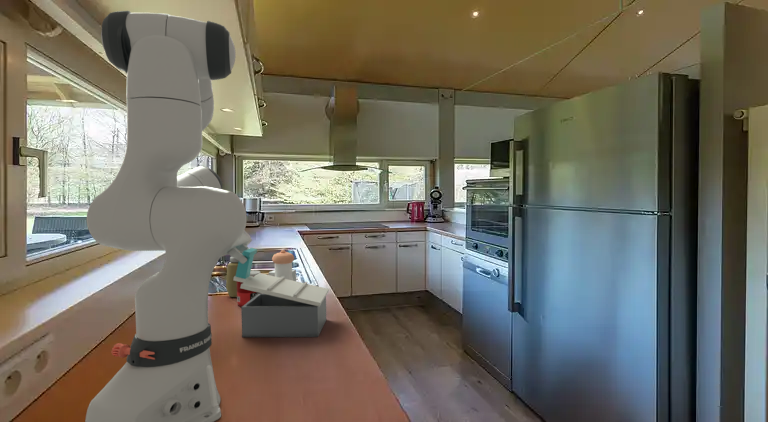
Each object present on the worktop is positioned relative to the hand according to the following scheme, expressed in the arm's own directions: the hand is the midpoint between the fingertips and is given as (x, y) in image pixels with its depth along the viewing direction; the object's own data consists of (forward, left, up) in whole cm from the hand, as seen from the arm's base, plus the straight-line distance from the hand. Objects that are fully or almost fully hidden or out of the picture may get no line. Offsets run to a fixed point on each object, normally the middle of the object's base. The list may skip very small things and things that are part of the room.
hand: (249, 260), depth 110 cm
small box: (+27, +8, -19) cm, 35 cm away
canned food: (+19, +16, -19) cm, 32 cm away
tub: (+3, -10, -19) cm, 22 cm away
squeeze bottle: (+27, +28, -19) cm, 44 cm away
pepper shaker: (+19, +2, -19) cm, 28 cm away
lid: (+3, -8, -8) cm, 12 cm away
